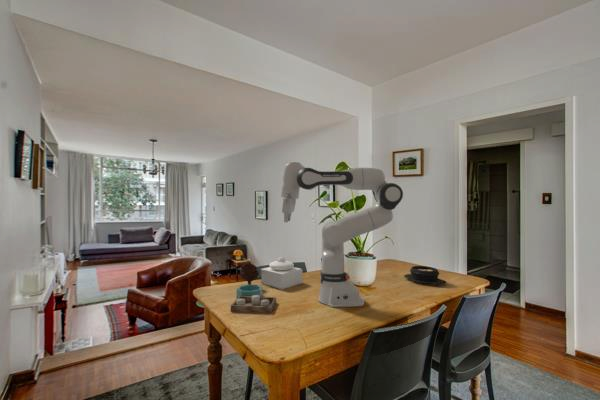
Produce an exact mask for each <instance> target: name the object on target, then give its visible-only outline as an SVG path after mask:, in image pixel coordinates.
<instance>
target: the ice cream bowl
mask: <svg viewBox="0 0 600 400" xmlns="http://www.w3.org/2000/svg"><path fill="white" fill-rule="evenodd" d="M257 268H258V267H257V266H256V265H255V264H253V263H252V262H250V261H245V262H243V264H242V265H241V269H242V270H240V271H239V275H240V278H241V279H242V280H244V281H246V282H247V285H248V284H250V285H252V281H255V280H256V279H257V278H258V277H259V275H260V270H258V269H257Z"/></svg>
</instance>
